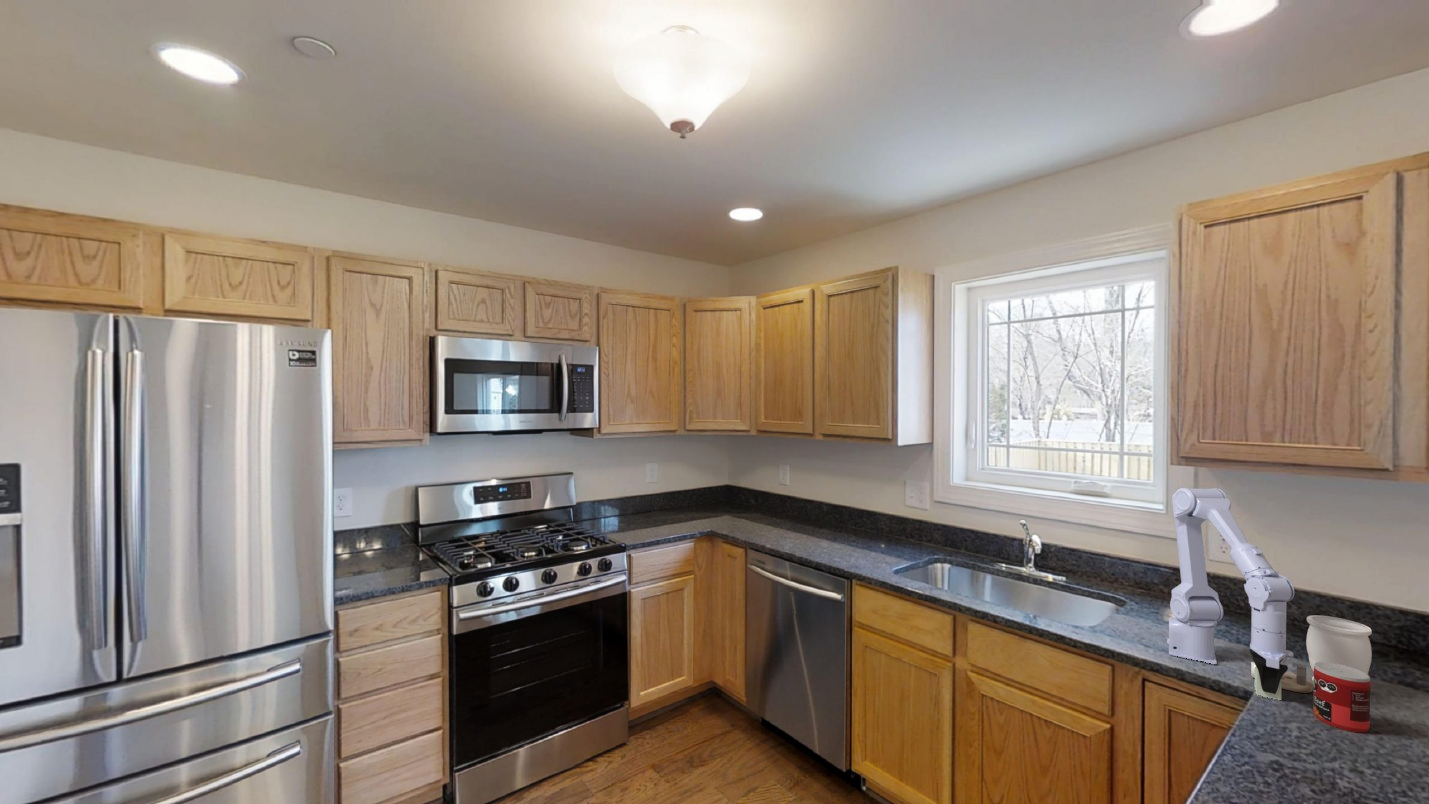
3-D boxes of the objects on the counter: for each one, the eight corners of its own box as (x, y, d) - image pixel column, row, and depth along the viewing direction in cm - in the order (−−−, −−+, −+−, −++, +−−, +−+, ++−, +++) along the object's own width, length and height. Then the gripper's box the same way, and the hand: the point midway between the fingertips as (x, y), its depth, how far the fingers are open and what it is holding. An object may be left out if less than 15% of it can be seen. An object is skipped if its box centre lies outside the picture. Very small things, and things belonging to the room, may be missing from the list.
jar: (1351, 700, 129) (1352, 633, 129) (1294, 679, 139) (1295, 616, 139) (1382, 694, 132) (1383, 629, 132) (1324, 673, 142) (1325, 612, 142)
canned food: (1310, 708, 126) (1311, 658, 126) (1364, 721, 121) (1365, 669, 121) (1316, 723, 120) (1317, 670, 120) (1374, 738, 115) (1374, 682, 115)
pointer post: (1251, 678, 139) (1251, 663, 139) (1250, 675, 141) (1250, 661, 141) (1261, 680, 138) (1262, 666, 138) (1260, 677, 140) (1260, 663, 140)
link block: (1256, 695, 131) (1256, 673, 131) (1254, 688, 134) (1254, 666, 134) (1281, 700, 129) (1281, 678, 129) (1278, 693, 132) (1278, 671, 132)
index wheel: (1306, 696, 131) (1306, 671, 131) (1259, 681, 137) (1259, 657, 137) (1317, 687, 135) (1317, 663, 135) (1271, 673, 142) (1271, 650, 142)
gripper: (1299, 643, 123) (1298, 707, 123) (1287, 623, 135) (1286, 681, 135) (1254, 635, 128) (1253, 696, 128) (1246, 616, 139) (1245, 672, 139)
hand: (1267, 688), depth 132 cm, fingers closed on link block, 4 cm apart
